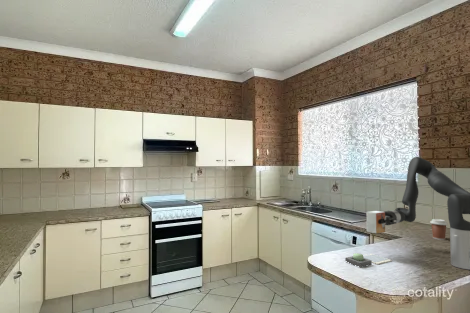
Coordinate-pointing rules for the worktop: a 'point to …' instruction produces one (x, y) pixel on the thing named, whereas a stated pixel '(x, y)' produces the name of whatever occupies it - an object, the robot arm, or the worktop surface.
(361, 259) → the button
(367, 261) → the button housing
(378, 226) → the small box
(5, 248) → the worktop surface
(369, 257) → the paper pad
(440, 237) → the coffee cup
